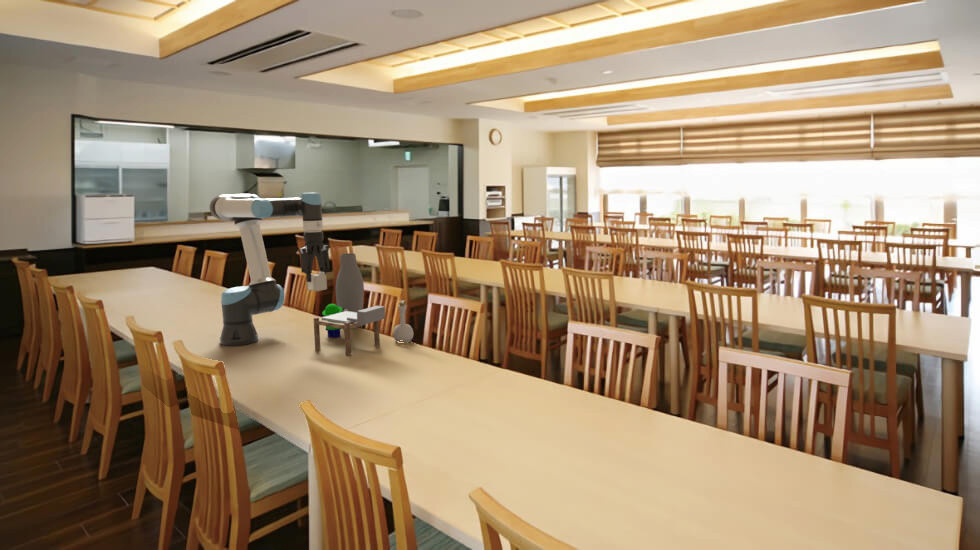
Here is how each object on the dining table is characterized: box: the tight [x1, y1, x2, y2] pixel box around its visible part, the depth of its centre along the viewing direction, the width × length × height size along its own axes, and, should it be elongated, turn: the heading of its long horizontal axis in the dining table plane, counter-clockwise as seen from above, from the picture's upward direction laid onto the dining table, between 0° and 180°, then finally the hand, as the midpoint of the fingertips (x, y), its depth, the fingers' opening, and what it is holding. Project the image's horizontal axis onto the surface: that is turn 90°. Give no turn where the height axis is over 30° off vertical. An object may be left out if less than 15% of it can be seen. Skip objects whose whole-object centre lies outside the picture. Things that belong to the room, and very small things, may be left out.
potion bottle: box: [392, 299, 414, 344], centre depth 249 cm, size 9×9×18 cm
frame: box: [313, 310, 381, 357], centre depth 240 cm, size 18×18×14 cm
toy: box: [321, 303, 344, 339], centre depth 257 cm, size 9×9×15 cm
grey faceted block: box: [321, 305, 386, 326], centre depth 236 cm, size 22×14×6 cm, turn 60°
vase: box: [335, 252, 365, 329], centre depth 274 cm, size 13×13×35 cm
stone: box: [306, 273, 328, 292], centre depth 235 cm, size 6×5×6 cm
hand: (316, 288), depth 235 cm, fingers closed on stone, 5 cm apart
